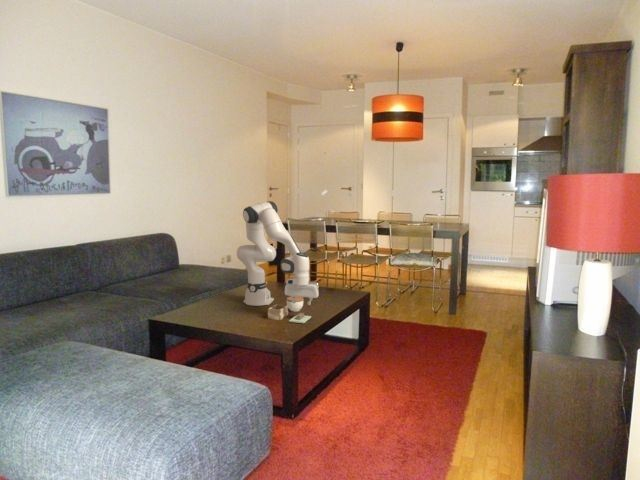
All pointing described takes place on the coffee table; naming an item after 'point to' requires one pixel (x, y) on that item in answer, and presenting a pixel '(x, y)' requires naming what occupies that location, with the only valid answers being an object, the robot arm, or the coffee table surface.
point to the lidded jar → (297, 304)
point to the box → (277, 312)
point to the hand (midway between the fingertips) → (301, 303)
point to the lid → (300, 318)
